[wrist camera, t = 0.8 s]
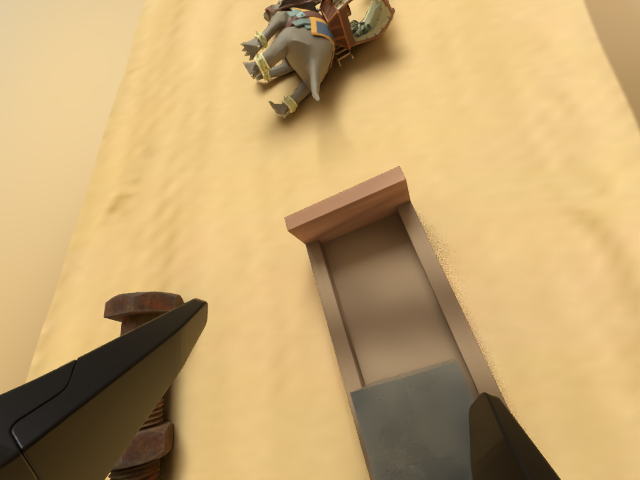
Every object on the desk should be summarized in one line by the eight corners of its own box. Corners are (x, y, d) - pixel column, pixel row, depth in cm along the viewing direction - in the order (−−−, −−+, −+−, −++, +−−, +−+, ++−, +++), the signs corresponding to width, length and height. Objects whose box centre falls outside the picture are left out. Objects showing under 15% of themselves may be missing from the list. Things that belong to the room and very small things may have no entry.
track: (532, 469, 16) (568, 515, 11) (386, 498, 18) (367, 548, 13) (407, 201, 23) (399, 165, 18) (312, 241, 25) (284, 217, 20)
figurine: (208, 7, 33) (341, -101, 30) (242, 57, 38) (357, -32, 35) (268, 107, 22) (475, -43, 20) (303, 157, 27) (471, 41, 25)
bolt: (167, 494, 24) (175, 303, 29) (188, 512, 21) (193, 292, 26) (73, 528, 21) (101, 303, 26) (80, 558, 17) (111, 290, 22)
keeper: (497, 461, 15) (519, 505, 11) (402, 481, 16) (388, 528, 12) (453, 358, 17) (457, 361, 13) (371, 382, 19) (349, 392, 14)
